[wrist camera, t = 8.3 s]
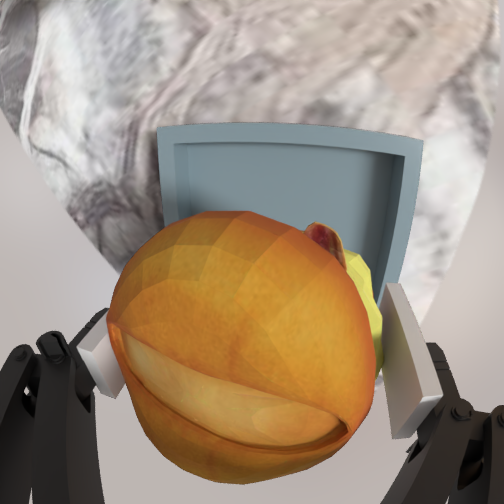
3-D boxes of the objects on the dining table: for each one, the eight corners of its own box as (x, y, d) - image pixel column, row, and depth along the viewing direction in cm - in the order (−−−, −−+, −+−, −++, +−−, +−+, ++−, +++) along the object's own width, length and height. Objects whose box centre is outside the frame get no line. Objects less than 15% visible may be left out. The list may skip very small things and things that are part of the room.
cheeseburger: (240, 390, 18) (168, 508, 8) (165, 243, 17) (19, 300, 7) (394, 353, 14) (416, 509, 5) (329, 166, 13) (303, 121, 4)
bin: (175, 125, 20) (156, 127, 17) (408, 136, 17) (423, 140, 14) (189, 294, 27) (177, 314, 24) (375, 312, 24) (381, 334, 21)
